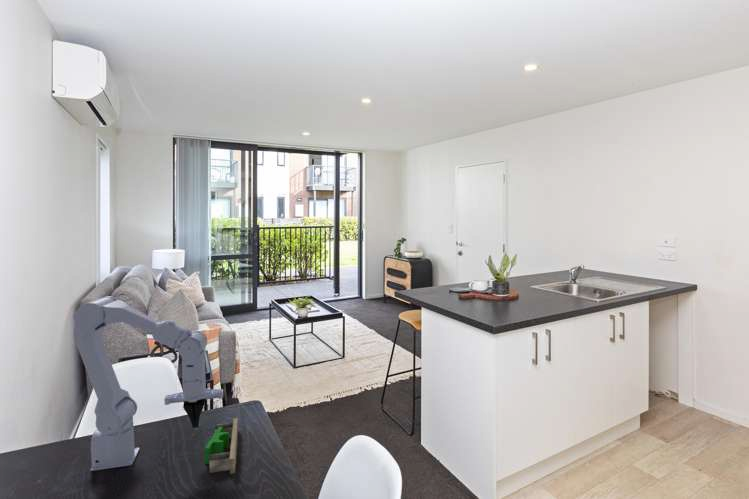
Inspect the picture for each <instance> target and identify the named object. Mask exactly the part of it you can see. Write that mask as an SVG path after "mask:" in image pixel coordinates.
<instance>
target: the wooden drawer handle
mask: <svg viewBox="0 0 749 499" xmlns="http://www.w3.org/2000/svg"><path fill="white" fill-rule="evenodd" d="M219 427H223V432H229V439H231V440H230V441H231V442H230V451H227V452H225V451H224V453H219V454H212V455H210V457H209V459H210V461H209V464H208V465H209V473H210V474H211V473H212V474H213V473H217V472H225V471H229V475H234V474H236V464H237V452H238V451H237V449H238V448H237V447H238V437H239V417H237V418H236V417H235V418H233V422H232V421H231V422H226V423H218V424H215V426H214V429H215V430H214V433H215V432H216V431H217V429H218V428H219Z"/></svg>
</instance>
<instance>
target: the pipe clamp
mask: <svg viewBox="0 0 749 499" xmlns="http://www.w3.org/2000/svg"><path fill="white" fill-rule="evenodd" d="M229 447H230V438H229V432H223V427H219V428H218V429H217V431H216V432H215V431H214V434H213V435H212V437H211V438H210V440H209V441H208V442H207V444H206V446H204V464H205V465H209V461H210V459H209V457H210V455H212V454H219V453H225V449H229Z"/></svg>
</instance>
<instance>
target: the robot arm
mask: <svg viewBox="0 0 749 499" xmlns="http://www.w3.org/2000/svg"><path fill="white" fill-rule="evenodd" d="M72 318H73V321H74V328H73V339H74V342H75V345H76V347H77V350H78V353H79V355H80V357H81V359H82V363H83V365H84V367H85V371H86V372H87V375H88V378H89V381H90V382H91V385H92V387H93V390H94V393H95V396H96V397H97V402H96V404H95V407H94V414H95V417H96V418H95V427H96V430H95V431H94V432H93V433H92V436H91V439H90V440H91V441H90V456H91V468H90V471H91V472H94V471H95V472H96V471H101V470H107V469H115V468H120V467H121V468H122V467H128V466H132V465H133V463H134V461H135V459H136V458H137V456H138V454H139V451H140V447H135V431H134V430H135V427H134V417H135V414H136V413H137V411H138V404H137V402H136V401H135V400H134V399H133V397H132V396H130V394H129V391H127V390H126V389H123V388H122V387H121V385H120V382H119V380H118V377H117V374H116V372H115V370H114V367H113V365H112V362H111V360H110V357H109V355H108V352H107V349H106V347H105V344H104V342H103V339H102V333H103V332H104V330H105V329H106V327H107V326H108V325H110V324H116V323H124V324H126V325H129V326H132V327H134V328H136V329H139V330H141V331H144V332H147V333H149V334H151V335H152V338H153V340H154V341H156V342H158V343H160V344H162V345H164V346H167V347H169V348H172V349H174V350H176V351H177V353H178V355H179V356H180V357H181V371H182V372H181V373H182V375H181V376H182V379H181V380H182V391H181V392H176V393H171V394H165V397H164V406H169V405H170V404H175V403H177V404H178V403H183V406H182V408H183V411H185V413H186V414H187V417H188V419H189V420H190V423H191V428H192V429H195V428H199V425H200V424H199V423H200V418H201V413H202V411H203V408H204V407H205V405H206V404H205V403H206V401H207V400H214V399H219V400H222V399H224V389H223V388H222V389H221V388H220V389H214V388H207V387H206V386H207V385H206V383H207V382H206V359H205V357H206V356H205V348H206V346H207V345H208V339H207V336H206V335H205V334H204V333H202V332H201V331H200V330H192V329H190V328H188V329H186V328H184V327H182V326H180V325H178V324H176V321H174V320H172V319H171V320H167V319H164V320H163V321H158V320H156V319H154V318H152V317H151V316H148V315H147V314H145V313H143V312H141V311H139V310H137V309H135V308H134V307H132V306H130V305H128V304H127V303H126V302H125V301H123V300H120V299H117V298H116V297H114V296H110V295H106V296H102V297H101V298H98V299H96V300H93V301H90V302H85V303H83V304H81V305H80V306H79V307H78V309H77V310H76V311H75V313H74V314H73V316H72Z"/></svg>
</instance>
